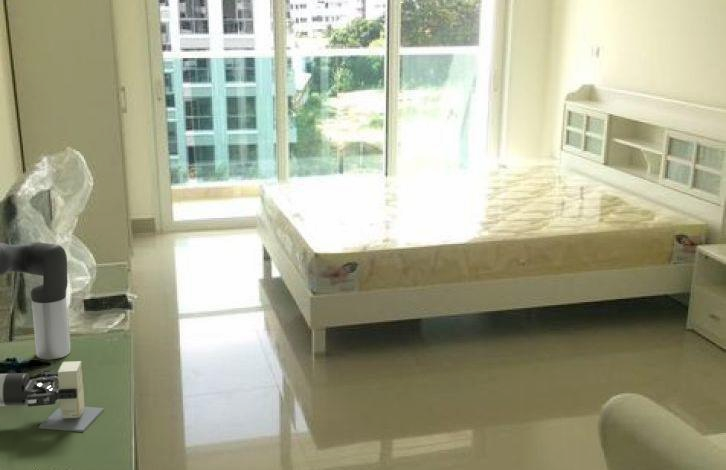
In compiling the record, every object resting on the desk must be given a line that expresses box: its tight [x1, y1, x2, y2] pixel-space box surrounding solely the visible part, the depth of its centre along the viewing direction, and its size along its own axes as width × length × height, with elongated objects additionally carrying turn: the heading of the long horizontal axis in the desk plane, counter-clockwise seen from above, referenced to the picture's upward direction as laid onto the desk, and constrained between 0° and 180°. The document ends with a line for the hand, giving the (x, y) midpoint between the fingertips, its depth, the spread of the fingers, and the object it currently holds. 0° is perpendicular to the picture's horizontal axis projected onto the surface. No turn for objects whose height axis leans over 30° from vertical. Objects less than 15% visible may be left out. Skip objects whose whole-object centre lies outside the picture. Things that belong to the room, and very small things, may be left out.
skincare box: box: [57, 360, 85, 418], centre depth 180 cm, size 6×4×12 cm
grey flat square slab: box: [38, 406, 105, 433], centre depth 182 cm, size 11×11×1 cm
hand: (79, 387), depth 180 cm, fingers closed on skincare box, 6 cm apart
